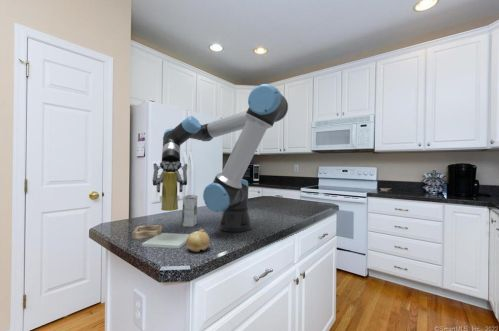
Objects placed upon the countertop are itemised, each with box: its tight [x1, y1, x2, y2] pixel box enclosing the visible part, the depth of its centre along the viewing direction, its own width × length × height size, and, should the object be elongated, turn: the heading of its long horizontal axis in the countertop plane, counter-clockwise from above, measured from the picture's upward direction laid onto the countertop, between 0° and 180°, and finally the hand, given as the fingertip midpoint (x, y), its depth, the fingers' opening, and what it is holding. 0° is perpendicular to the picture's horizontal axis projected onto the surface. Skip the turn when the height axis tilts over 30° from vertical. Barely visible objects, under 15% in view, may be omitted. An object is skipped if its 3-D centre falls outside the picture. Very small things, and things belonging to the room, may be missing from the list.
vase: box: [160, 172, 179, 212], centre depth 91 cm, size 6×6×14 cm
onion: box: [185, 227, 211, 253], centre depth 82 cm, size 8×8×7 cm
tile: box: [141, 232, 191, 249], centre depth 91 cm, size 14×14×1 cm
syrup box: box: [181, 194, 198, 228], centre depth 116 cm, size 6×6×14 cm
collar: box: [131, 224, 163, 240], centre depth 99 cm, size 10×10×2 cm
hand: (169, 198), depth 87 cm, fingers closed on vase, 5 cm apart
